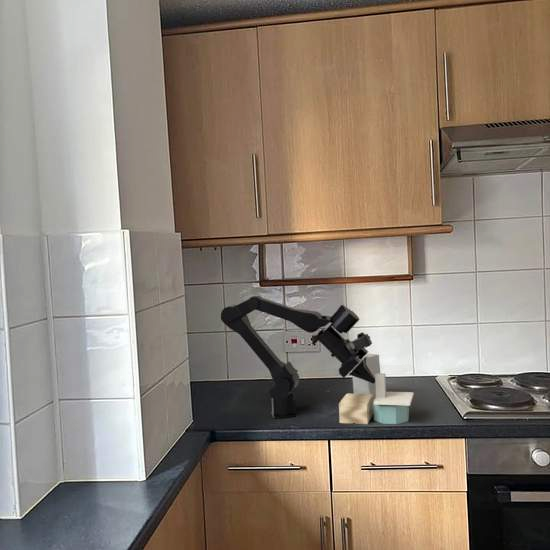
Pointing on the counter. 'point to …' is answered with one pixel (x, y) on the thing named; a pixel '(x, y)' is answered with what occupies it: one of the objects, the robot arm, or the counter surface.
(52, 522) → the counter surface
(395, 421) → the bowl
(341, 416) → the block
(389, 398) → the lid
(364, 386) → the skincare box
